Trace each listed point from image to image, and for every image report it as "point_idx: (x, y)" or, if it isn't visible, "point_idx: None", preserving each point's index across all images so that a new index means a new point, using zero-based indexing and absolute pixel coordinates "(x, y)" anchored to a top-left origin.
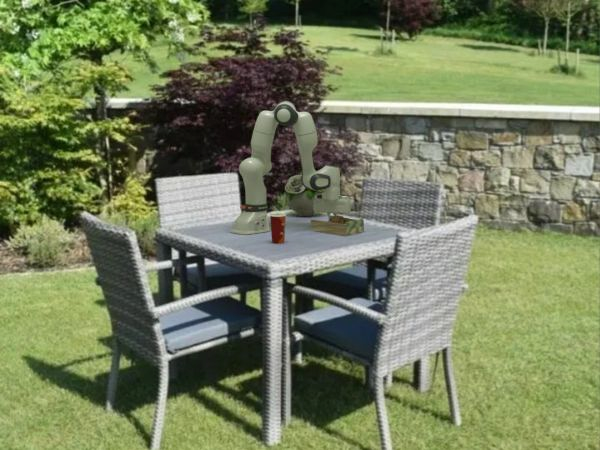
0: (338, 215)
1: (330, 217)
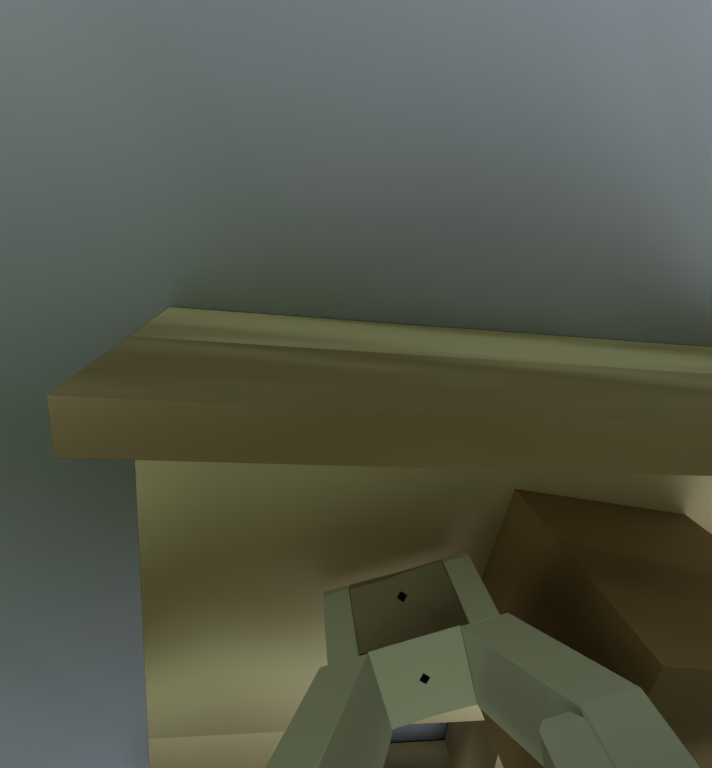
0: (705, 674)
1: (380, 700)
